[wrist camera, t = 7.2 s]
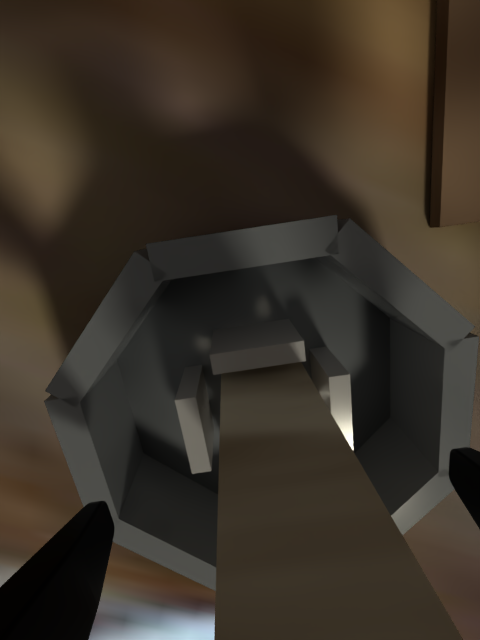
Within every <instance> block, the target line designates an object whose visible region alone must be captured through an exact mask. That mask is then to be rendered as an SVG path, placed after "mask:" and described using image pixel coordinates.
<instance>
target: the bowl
mask: <svg viewBox="0 0 480 640" xmlns="http://www.w3.org/2000/svg"><path fill="white" fill-rule="evenodd" d="M146 247H147V249H142V250H137V251H134V253H133V254H132V256H131V257H130V259H129V260H128V262H127V264H126V265H125V267H124V268H123V270H122V271H121V273H120V275H119V276H118V278H117V279H116V281H115V282H114V284H113V285H112V287H111V289H110V290H109V292H108V293H107V295H106V296H105V298H104V300H103V301H102V303H101V304H100V306H99V307H98V309H97V310H96V312H95V314H94V315H93V317H92V318H91V320H90V321H89V323H88V325H87V326H86V328H85V329H84V331H83V332H82V334H81V335H80V337H79V339H78V340H77V342H76V343H75V345H74V346H73V348H72V350H71V351H70V353H69V354H68V356H67V357H66V359H65V360H64V362H63V364H62V365H61V367H60V368H59V370H58V371H57V373H56V375H55V376H54V378H53V379H52V381H51V382H50V384H49V385H48V387H47V389H46V390H45V391H46V392H48V393H50V394H51V395H50V396H49V397H48V398H47V399H46V400H45V401H44V402H45V405H46V408H47V410H48V413H49V416H50V418H51V421H52V424H53V426H54V429H55V432H56V434H57V437H58V440H59V442H60V445H61V448H62V450H63V453H64V456H65V458H66V461H67V464H68V466H69V469H70V472H71V474H72V477H73V480H74V482H75V485H76V488H77V490H78V493H79V496H80V498H81V501H82V504H83V506H86V505H87V504H88V503H90V502H96V501H105V502H106V503H107V505H108V507H109V510H110V513H111V516H112V519H113V522H114V527H115V530H114V537H113V542H115V543H117V544H119V545H121V546H123V547H125V548H127V549H129V550H131V551H133V552H135V553H137V554H140V555H142V556H144V557H146V558H148V559H150V560H152V561H154V562H156V563H158V564H160V565H163V566H165V567H167V568H169V569H171V570H173V571H175V572H177V573H179V574H181V575H183V576H186V577H188V578H190V579H192V580H194V581H196V582H198V583H200V584H202V585H204V586H206V587H209V588H211V589H213V590H215V591H216V562H217V522H218V482H219V442H220V402H221V374H222V373H229V372H236V371H242V370H249V369H256V368H263V367H269V366H276V365H283V364H289V363H296V362H301V363H302V364H303V366H304V368H305V369H306V371H307V373H308V375H309V376H310V378H311V380H312V381H313V383H314V385H315V387H316V388H317V390H318V392H319V393H320V395H321V397H322V399H323V400H324V402H325V404H326V405H327V407H328V409H329V411H330V412H331V414H332V416H333V417H334V419H335V421H336V423H337V424H338V426H339V428H340V429H341V431H342V433H343V435H344V436H345V438H346V440H347V441H348V443H349V445H350V447H351V448H352V450H353V452H354V453H355V455H356V457H357V459H358V460H359V462H360V464H361V465H362V467H363V469H364V471H365V472H366V474H367V476H368V477H369V479H370V481H371V483H372V484H373V486H374V488H375V489H376V491H377V493H378V495H379V496H380V498H381V500H382V501H383V503H384V505H385V507H386V508H387V510H388V512H389V513H390V515H391V517H392V519H393V520H394V522H395V524H396V525H397V527H398V529H399V531H400V532H401V534H402V535H403V534H404V533H406V532H407V531H408V530H409V529H410V528H411V527H412V526H413V525H415V524H416V523H417V522H418V521H419V520H420V519H421V518H422V517H424V516H425V515H426V514H427V513H428V512H429V511H430V510H431V509H433V508H434V507H435V506H436V505H437V504H438V503H439V502H440V501H442V500H443V499H444V498H445V497H446V496H447V495H448V494H449V493H450V492H452V491H453V490H454V487H453V486H452V484H451V482H450V479H449V457H450V451H451V450H452V449H455V448H462V447H469V448H470V436H471V425H472V413H473V401H474V389H475V377H476V365H477V353H478V342H479V336H477V335H474V334H472V333H469V332H470V331H471V330H472V329H473V328H474V327H475V326H474V325H473V324H472V323H470V322H469V321H468V320H467V319H466V318H465V317H463V316H462V315H461V314H460V313H459V312H458V311H456V310H455V309H454V308H453V307H452V306H451V305H450V304H448V303H447V302H446V301H445V300H444V299H443V298H441V297H440V296H439V295H438V294H437V293H436V292H434V291H433V290H432V289H431V288H430V287H429V286H428V285H426V284H425V283H424V282H423V281H422V280H421V279H419V278H418V277H417V276H416V275H415V274H414V273H412V272H411V271H410V270H409V269H408V268H407V267H406V266H404V265H403V264H402V263H401V262H400V261H399V260H397V259H396V258H395V257H394V256H393V255H392V254H390V253H389V252H388V251H387V250H386V249H385V248H384V247H382V246H381V245H380V244H379V243H378V242H377V241H375V240H374V239H373V238H372V237H371V236H370V235H368V234H367V233H366V232H365V231H364V230H363V229H362V228H360V227H359V226H358V225H357V224H356V223H355V222H353V221H352V220H351V219H350V218H349V219H339V220H337V215H333V216H326V217H319V218H312V219H306V220H299V221H292V222H286V223H279V224H273V225H266V226H259V227H253V228H246V229H240V230H233V231H227V232H220V233H213V234H207V235H200V236H194V237H187V238H180V239H174V240H167V241H161V242H155V243H148V244H146Z"/></svg>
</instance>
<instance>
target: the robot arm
mask: <svg viewBox="0 0 480 640" xmlns="http://www.w3.org/2000/svg"><path fill="white" fill-rule="evenodd" d="M449 479H450V482H451V484H452V486H453V487H454V489H455V491H456V492H457V494H458V495H459V497H460V499H461V500H462V502H463V503H464V505H465V507H466V508H467V510H468V511H469V513H470V514H471V516H472V518H473V519H474V521H475V522H476V524H477V526H478V527H479V529H480V452H479V451H476V450H474V449H472V448H469V447H462V448H455V449H452V450H451V451H450V457H449ZM114 530H115V527H114V522H113V519H112V516H111V513H110V510H109V507H108V505H107V503H106V502H105V501H96V502H90V503H88V504H87V505H86V506H84V507H83V508H82V509H81V510H80V511H79V512H78V513H77V514H76V515H75V516H74V517H73V518H72V519H71V520H70V521H69V522H68V523H67V524H66V525H65V526H64V527H63V528H62V529H60V530H59V531H58V532H57V533H56V534H55V535H54V536H53V537H52V538H51V539H50V540H49V541H48V542H47V543H46V544H45V545H44V546H43V547H42V548H41V549H40V550H39V551H38V552H37V553H36V554H34V555H33V556H32V557H31V558H30V559H29V560H28V561H27V562H26V563H25V564H24V565H23V566H22V567H21V568H20V569H19V570H18V571H17V572H16V573H15V574H14V575H13V576H12V577H11V578H10V579H8V580H7V581H6V582H5V583H4V584H3V585H2V586H1V587H0V640H88V639H89V636H90V632H91V629H92V626H93V623H94V619H95V616H96V612H97V609H98V605H99V601H100V597H101V593H102V588H103V583H104V579H105V574H106V569H107V565H108V560H109V556H110V551H111V546H112V542H113V537H114Z"/></svg>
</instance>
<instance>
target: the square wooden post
mask: <svg viewBox="0 0 480 640" xmlns="http://www.w3.org/2000/svg"><path fill="white" fill-rule="evenodd" d="M215 640H463V638H462V637H461V635H460V633H459V632H458V630H457V628H456V626H455V625H454V623H453V621H452V620H451V618H450V616H449V614H448V613H447V611H446V609H445V608H444V606H443V604H442V602H441V601H440V599H439V597H438V596H437V594H436V592H435V590H434V589H433V587H432V585H431V584H430V582H429V580H428V578H427V577H426V575H425V573H424V572H423V570H422V568H421V566H420V565H419V563H418V561H417V560H416V558H415V556H414V554H413V553H412V551H411V549H410V548H409V546H408V544H407V542H406V541H405V539H404V537H403V536H402V534H401V532H400V531H399V529H398V527H397V525H396V524H395V522H394V520H393V519H392V517H391V515H390V513H389V512H388V510H387V508H386V507H385V505H384V503H383V501H382V500H381V498H380V496H379V495H378V493H377V491H376V489H375V488H374V486H373V484H372V483H371V481H370V479H369V477H368V476H367V474H366V472H365V471H364V469H363V467H362V465H361V464H360V462H359V460H358V459H357V457H356V455H355V453H354V452H353V450H352V448H351V447H350V445H349V443H348V441H347V440H346V438H345V436H344V435H343V433H342V431H341V429H340V428H339V426H338V424H337V423H336V421H335V419H334V417H333V416H332V414H331V412H330V411H329V409H328V407H327V405H326V404H325V402H324V400H323V399H322V397H321V395H320V393H319V392H318V390H317V388H316V387H315V385H314V383H313V381H312V380H311V378H310V376H309V375H308V373H307V371H306V369H305V368H304V366H303V364H302V363H301V362H296V363H289V364H283V365H276V366H269V367H263V368H256V369H249V370H242V371H236V372H229V373H222V374H221V402H220V442H219V482H218V522H217V562H216V602H215Z"/></svg>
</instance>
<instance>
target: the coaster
mask: <svg viewBox="0 0 480 640" xmlns="http://www.w3.org/2000/svg"><path fill="white" fill-rule="evenodd" d="M478 221H480V0H437V16H436V47H435V78H434V110H433V141H432V173H431V204H430V227H445V226H452V225H458V224H465V223H472V222H478Z"/></svg>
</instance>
